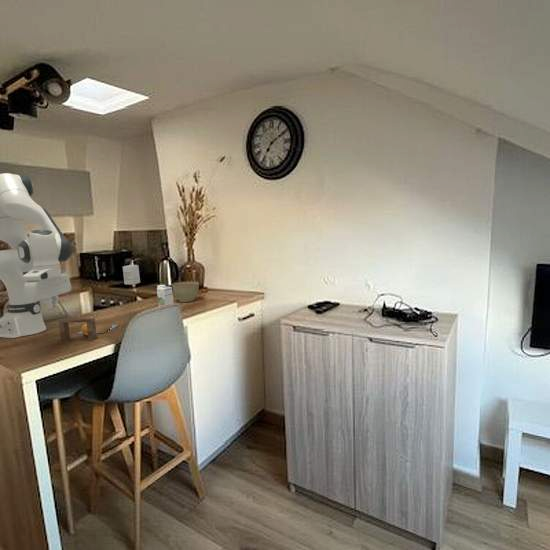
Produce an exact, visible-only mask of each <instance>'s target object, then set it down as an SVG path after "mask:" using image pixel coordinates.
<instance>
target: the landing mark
mask: <svg viewBox="0 0 550 550" xmlns="http://www.w3.org/2000/svg"><path fill="white" fill-rule="evenodd" d="M111 325H112V328H110V331H111V330H114V329H115V328H117V327H118V325H119V324H111ZM116 326H117V327H116ZM108 332H109V330H108ZM76 335H84V334H83V333H82V330H81V331H79V332H77V333H76Z"/></svg>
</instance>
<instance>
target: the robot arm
mask: <svg viewBox="0 0 550 550" xmlns="http://www.w3.org/2000/svg"><path fill="white" fill-rule="evenodd" d="M32 195H34V184H33V182H32V180H31V178H30V177H29V175H28V176H27V175H25V174H21V173H20V174H19V173H18V174H13V173H9V172H4V173H0V241H1V242H4V243H6V244H7V245H9V246H10V248H11V249H2V250H0V280H1V281H2V283H3V285H4V286H5V289H6V292H7V297H8V301H9V304H8V305H5V306H4V307H5V308H4V309H5V310H6V309H7V310H6V313H5V314H4V315H3V316H1V317H0V338H7V339H15V338H16V339H17V338H19V337H20V338H21V337H26V336H30V335H35V334H39V333H42V332H44V331H46V330H47V329H48V328H47V327H46V324H45V321H44V319H43V316H42V312H41V307H42V306H41V301H44V303H45V304H46V307H47V309H48V310H52V309H55V308H57V307H58V304H57V303H58V300H59V295H62V294H63V295H64V294H67V293H69V292H71V290H72V284H71V281H70V276H69V275H68V272H67V271H66V270H65V269H62V268H61V263H60V262H62V263H63V262H66V261H68V260H69V258H71V256H72V255H73V252H74V251H73V250H74V249H73V246H72V244H71V242H70V240H69V239H68V238H67V237H66V236H65V235H64V234H63V232H62V231H61V230H60V228H59V226H58V225H57V223H56V222H55V220H54V219H53V218H52V216H51V215H50V213H49V212H48V211H47V209H46V208H44V207H42V206H41V205H39V204H37V202H35V201H34V200H33V199H32V197H31V196H32ZM23 221H25V222H27V223H28V222H29V223H33V224H35V225H38V226H39V227H41V229H35V230H30V232H29V235H28V233H27V231H26V229H25V225H24V222H23ZM24 273H25V274H24Z"/></svg>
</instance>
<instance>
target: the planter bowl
mask: <svg viewBox="0 0 550 550" xmlns="http://www.w3.org/2000/svg"><path fill="white" fill-rule="evenodd" d="M199 286H200V282H198V281H180V282H174V283H172V284H171V287H172V293H173V294H174V296H175V297H176V298H177V300H178V302H180V303H190V302H193V301H195V300H196V296H197V295H198V292H199V288H200V287H199Z"/></svg>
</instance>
